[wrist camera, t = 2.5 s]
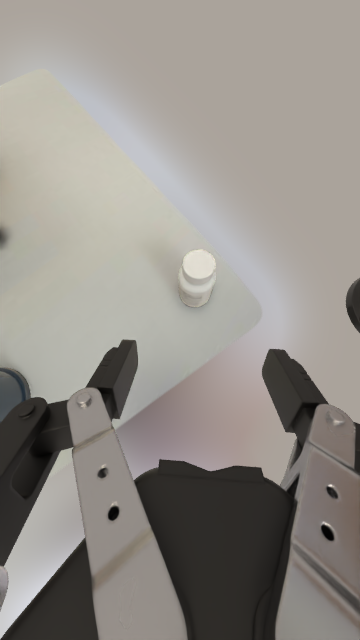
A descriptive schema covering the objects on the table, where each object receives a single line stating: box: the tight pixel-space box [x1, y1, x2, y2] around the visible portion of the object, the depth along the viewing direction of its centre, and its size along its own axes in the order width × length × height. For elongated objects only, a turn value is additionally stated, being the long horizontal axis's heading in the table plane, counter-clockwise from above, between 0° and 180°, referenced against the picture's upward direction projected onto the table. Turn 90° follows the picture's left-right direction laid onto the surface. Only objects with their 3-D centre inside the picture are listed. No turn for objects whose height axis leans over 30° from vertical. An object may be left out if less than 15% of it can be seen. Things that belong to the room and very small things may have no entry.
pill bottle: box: [178, 249, 216, 307], centre depth 23 cm, size 4×4×8 cm
